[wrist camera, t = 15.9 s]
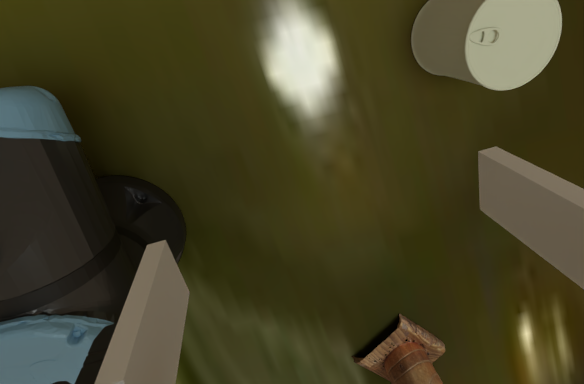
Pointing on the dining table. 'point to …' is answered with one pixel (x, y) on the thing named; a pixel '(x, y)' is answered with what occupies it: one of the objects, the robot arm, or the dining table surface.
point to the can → (487, 39)
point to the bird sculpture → (406, 355)
